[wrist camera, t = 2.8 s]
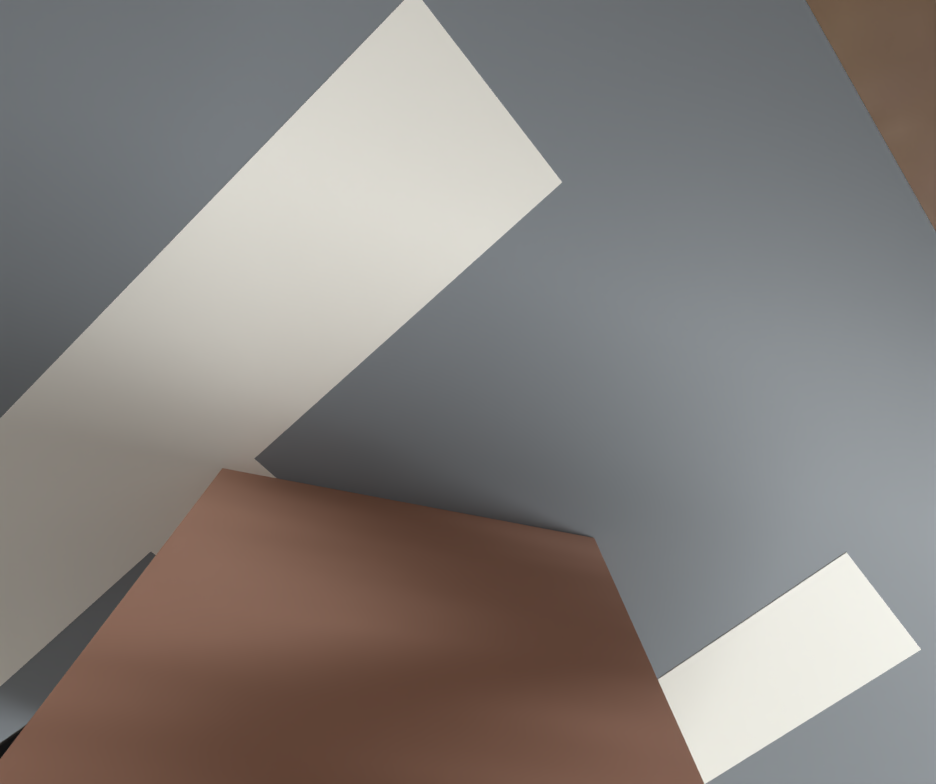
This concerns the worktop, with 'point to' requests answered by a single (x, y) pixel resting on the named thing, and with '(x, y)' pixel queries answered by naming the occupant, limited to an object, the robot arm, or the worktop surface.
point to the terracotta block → (358, 656)
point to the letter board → (487, 327)
